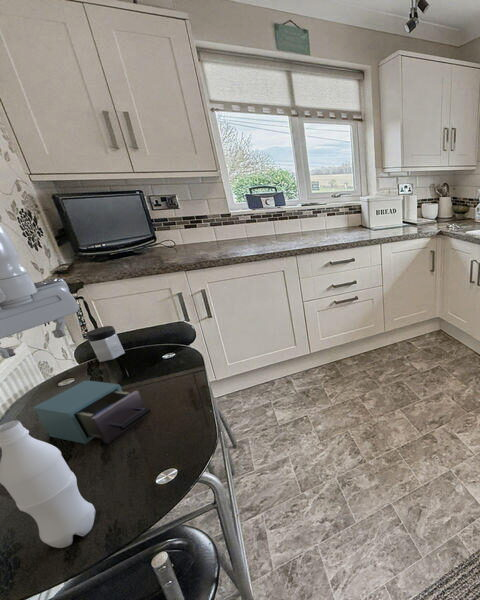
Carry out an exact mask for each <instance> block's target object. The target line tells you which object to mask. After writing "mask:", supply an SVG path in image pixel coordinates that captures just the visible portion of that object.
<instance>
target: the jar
mask: <svg viewBox="0 0 480 600" xmlns="http://www.w3.org/2000/svg"><path fill="white" fill-rule="evenodd" d="M85 336H86V337H85V338H86V339H87V341H88V342H89V345H90V346H91V348H92V350H93V352H94V355H95V357H96V359H97V360H98V362H99V363H101V362H106V361H111V360H114V359H116V358H119V357H120V356H122V355H124V354H126V352H125V350H124V348H123V345H122V343H121V341H120V339H119V337H118V334H117V332H116V329H115V327H114V326H112V325H106V326H105V325H104V326H101V327H97V328H94V329H91V330H89V331H87V332H86V333H85Z"/></svg>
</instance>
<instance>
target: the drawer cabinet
mask: <svg viewBox="0 0 480 600" xmlns="http://www.w3.org/2000/svg"><path fill="white" fill-rule="evenodd" d="M114 390H115V391H122V392H124V391H123V389H122V387H121V385H120V384H118V383H111V382H103V381H95V380H89V379H88V380H87V379H85V380H83V381H81V382H79V383H77V384H75V385H73V386H72V387H70V388H68V389H66V390H64V391H62V392H60V393H58V394H56V395H54V396H53V397H50V398H49V399H47V400H44V401H43V402H41V403H39V404H37V405H35V406H32V409H33V410H34V412H35V414H36V416H37V417H38V419H39V420H40V422H41V424H42V425H43V427H44V429H45V430H46V432H47V433H48V435H49V436H50V437H51V438H54V439H55V438H56V439H59V440H66V441H70V442H75V443H80V444H84V445H87V444H88V443H89V442H91V441H92V440H93V439H96V438H95V437H90V436H85V434H84V432H83V430H82V428H81V427H80V425H79V423H78V421H77V419H76V418H75V416H74V414H75V413H76V412H78V411H80V410H82V409H83V408H85V407H87V406H88V405H90V404H92V403H93V402H95V401H97V400H99V399H100V398H102V397H104V396H105V395H107V394H109V393H111V392H112V391H114Z"/></svg>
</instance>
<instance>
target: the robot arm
mask: <svg viewBox="0 0 480 600" xmlns="http://www.w3.org/2000/svg"><path fill="white" fill-rule="evenodd" d="M79 309H80V306H79V304H78V302H77V300H76V299H75V297H74V296H73V294H72V293H71V292H70V288H69V286H68V284H67V282H66V281H65V280H63V279H59V278H56V277H55V278H54V277H53V278H49V279H47V280H42V281H37V282H34V281H33V279H32V277H31V275H30V273H29V272H28V270H27V269H26V268H25V266H23V264H22V263H21V261H20V259H19V253H18V250H17V248H16V247H15V244H14V243H13V241H12V239H11V237H10V236H9V234H8V233H7V231H6V229H4V227H3V225H1V224H0V340H2V339H5V338H8V337H10V336H13V335H16V334H19V333H22V332H26V331H27V330H31V329H33V328H36V327H39V326H42V325H45V324H47V323H51V322H53V323H54V324H55V329H54V330H51V333H52V334H53V337H54V338H56V339H60V338H64V337H66V336H67V333H66V331H65V326H66V323H67V321H66V318H65V317H68V316H72V315H74V314H76V313H78V312H79ZM1 344H2V341H0V345H1ZM16 355H17V354H16V352H15V350H14V348H13V347H6V348H4V347H2V346H0V356H1V358H3V359H6V360H7V359H10V358H12V357H14V356H16Z"/></svg>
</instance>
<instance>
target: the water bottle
mask: <svg viewBox="0 0 480 600" xmlns="http://www.w3.org/2000/svg"><path fill="white" fill-rule="evenodd" d="M29 433H30V431H29V429H27V428H26V427H24V426H23V424H22V423H21V422H20V420H12V421H11V420H10V421H8V422H5V423H3V424H1V425H0V449H1V458H0V485H2V486H3V487H4V488H5V489H6V491H7V493H9V495H10V497H11V498H12V499H13V501H14V502H15V505H16V507H17V508H18V509H19V511H20V512H24V513H26V514H28V515H29V516H30V517H32V518H33V520H34V521H35V523H36V524H37V528H38V535H39V538H40V540H41V541H42V542H43V543H44V544H46V545H48V546H50V547H52V548H56V549H64V548H67V547H70V546H71V545H73V541H74V536H75V535H77V536H80V537H85V536H86V535H88V533H90V532H91V530H92V529H93V527H94V522H95V518H96V509H95V506H94V504H93V503H91V502H88V501H87V500H86V499H85V498H83V496H82V495H81V493H80V491H79V488H78V482H77V481H78V480H77V477H76V475H75V473H74V472H73V471H72V470H71V469H70V466H69V465H68V464H67V462H66V460H65V459H64V457H63V455H62V451H61V450H60V449H59V448H58V447H57V446H54V445H53V444H51V443H48V442H46V441H43V440H39V439H37V438H34V437H32V436H31V435H30V434H29Z"/></svg>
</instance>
